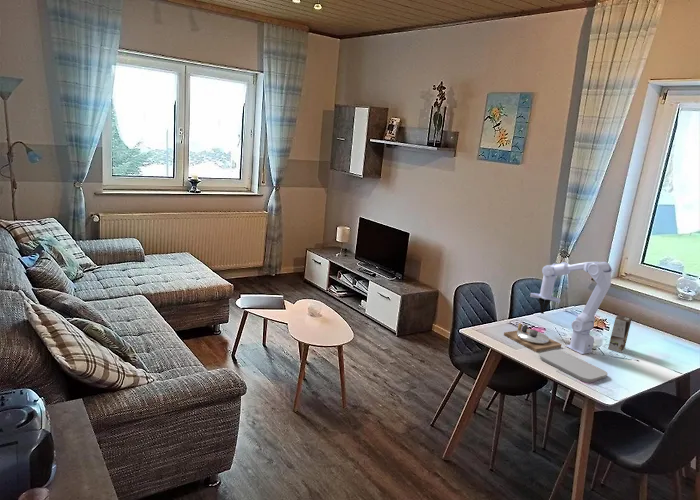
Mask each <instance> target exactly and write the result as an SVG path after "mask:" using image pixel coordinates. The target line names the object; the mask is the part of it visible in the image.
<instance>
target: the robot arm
mask: <svg viewBox="0 0 700 500" xmlns="http://www.w3.org/2000/svg"><path fill="white" fill-rule="evenodd" d="M582 270H583V271H585V273H588V274H589V276H590V277H591V278H592V279H593V280H594V282H595V284H596V285H595V287H594V289H593V290H592V293H591V294H590V297H589V298H588V301H586V304H585V305H584V307H583V310H582V312H580V313H579V314H578V315H577V316H576V318H575V319H574V320H572V322H571V329H572V333H571V338H570V342H569V344H566V345H565V347H566V348H569V349H571V350H573V351H575V352H576V353H578V354H581V355H586V354H590V353H593V351H592V350H593V348H594V347H593V346H594V343H595V339H594V336H592V335H591V333H590V332H591V330H593V329H594V326H595V321H596V317H595V315H596V314H597V311H599V310H598V309H599V308H600V305H601V304H602V302H603V301H604V298H605V296H606V295H607V293H608V291H609V289H610V288H611V285H612V276H611V275H612V273H613V268H612V266H611V265H610V263H608V262H607V261H584V262H580V263H574V264H570V263H568V262H565V261H561V262H560V263H552V264H546V265H544V266H543V267H542V268H541V272H542V275H543V276H542V277H543V278H542V280H541V281H542V282H541V287H540V292H539V293H537V292H536V293H535V292H530V295H529V297H530V298H535V299H538V303H539V308H540V314H543V315H544V312H545V311H546V309H547V307H548V306H549V305H550V303H551V302H555V303H557V304H560V303H561V300H562V299H561V298H558V297H555V296H553V291H554V287H555V281H556V279H557V276H564V275H566V276H567V275H569V274H571V272H574V271H582Z"/></svg>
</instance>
